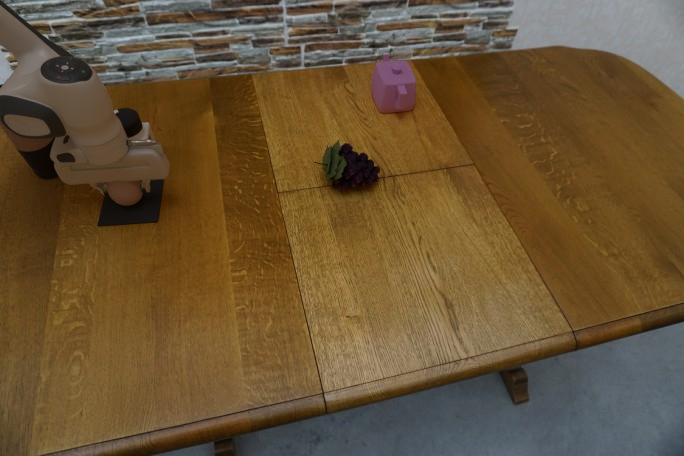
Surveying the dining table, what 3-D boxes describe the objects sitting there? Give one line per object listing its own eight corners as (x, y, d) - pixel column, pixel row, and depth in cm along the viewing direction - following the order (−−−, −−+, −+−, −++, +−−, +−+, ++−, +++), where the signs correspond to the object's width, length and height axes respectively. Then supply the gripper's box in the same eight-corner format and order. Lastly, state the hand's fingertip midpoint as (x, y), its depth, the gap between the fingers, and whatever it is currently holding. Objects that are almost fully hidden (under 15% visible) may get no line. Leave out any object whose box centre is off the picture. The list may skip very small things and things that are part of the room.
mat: (97, 226, 95) (97, 225, 95) (108, 183, 102) (107, 182, 102) (157, 222, 96) (157, 221, 96) (163, 180, 103) (163, 179, 103)
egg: (113, 215, 96) (97, 185, 89) (116, 191, 100) (101, 161, 93) (146, 211, 97) (133, 181, 90) (148, 188, 101) (135, 158, 94)
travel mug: (35, 184, 101) (-18, 111, 85) (33, 161, 105) (-18, 87, 89) (72, 174, 103) (27, 101, 87) (69, 152, 107) (25, 78, 91)
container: (158, 146, 110) (142, 102, 99) (156, 170, 105) (138, 125, 95) (124, 149, 109) (104, 104, 98) (121, 173, 104) (99, 128, 94)
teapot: (365, 80, 129) (368, 46, 121) (401, 77, 130) (406, 44, 122) (380, 122, 118) (384, 89, 110) (419, 118, 120) (426, 85, 112)
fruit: (372, 202, 106) (309, 194, 102) (369, 164, 111) (309, 155, 107) (389, 178, 97) (321, 168, 93) (385, 138, 102) (320, 127, 98)
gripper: (161, 127, 88) (179, 177, 99) (48, 133, 86) (79, 183, 97) (158, 150, 85) (176, 199, 96) (40, 157, 82) (72, 206, 93)
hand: (126, 191), depth 96 cm, fingers closed on egg, 6 cm apart
